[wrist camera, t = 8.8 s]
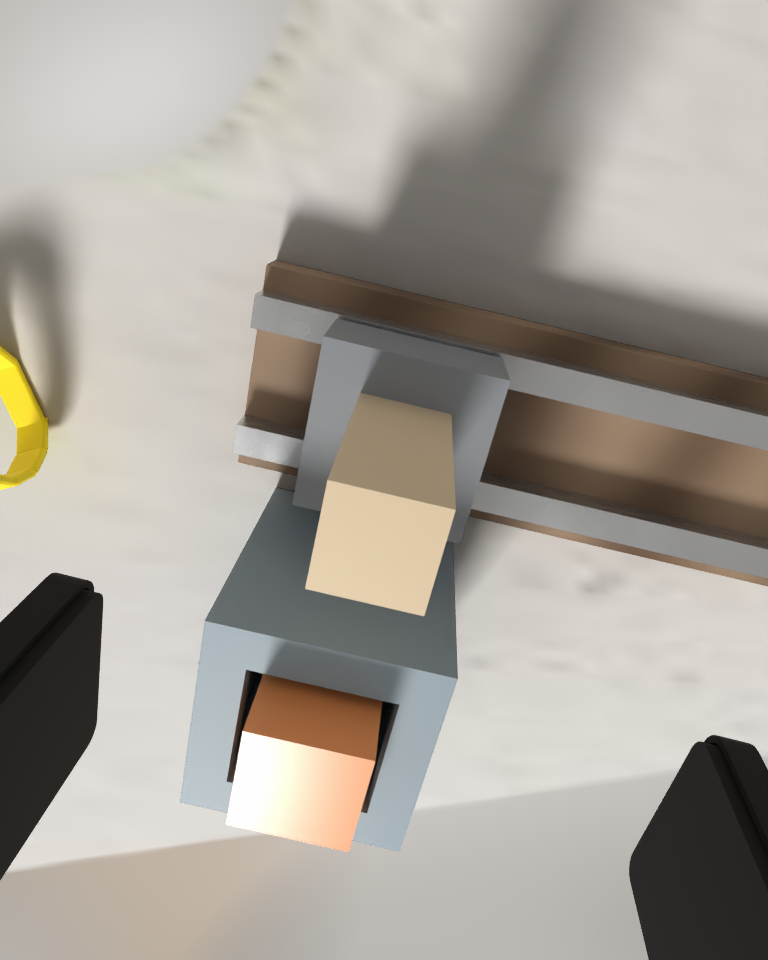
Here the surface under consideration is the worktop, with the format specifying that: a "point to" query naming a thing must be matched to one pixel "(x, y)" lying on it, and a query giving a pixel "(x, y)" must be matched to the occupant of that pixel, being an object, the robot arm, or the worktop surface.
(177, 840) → the worktop surface
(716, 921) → the robot arm
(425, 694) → the end cabinet
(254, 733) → the button
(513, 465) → the rail board
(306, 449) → the carriage
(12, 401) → the watch
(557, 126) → the worktop surface
